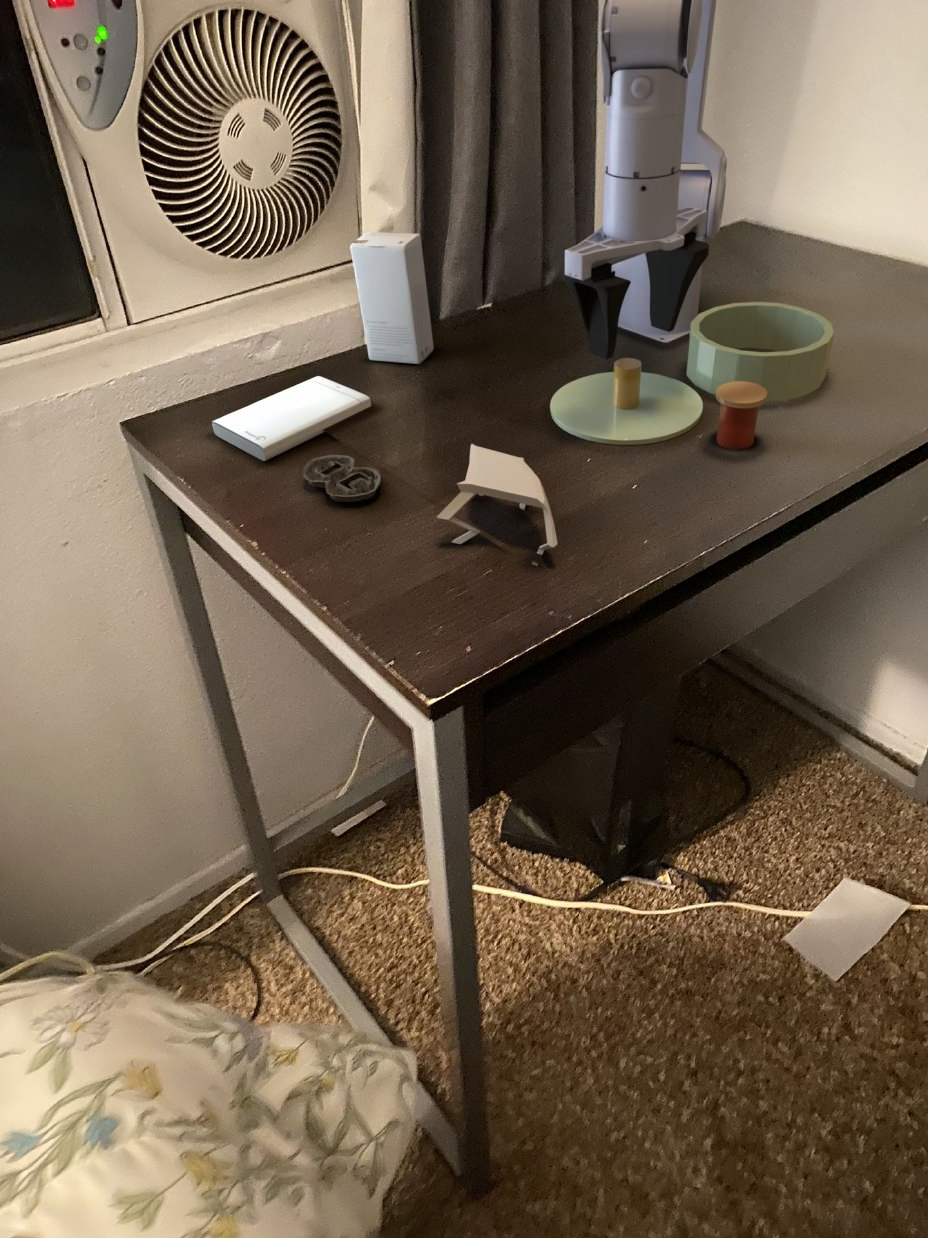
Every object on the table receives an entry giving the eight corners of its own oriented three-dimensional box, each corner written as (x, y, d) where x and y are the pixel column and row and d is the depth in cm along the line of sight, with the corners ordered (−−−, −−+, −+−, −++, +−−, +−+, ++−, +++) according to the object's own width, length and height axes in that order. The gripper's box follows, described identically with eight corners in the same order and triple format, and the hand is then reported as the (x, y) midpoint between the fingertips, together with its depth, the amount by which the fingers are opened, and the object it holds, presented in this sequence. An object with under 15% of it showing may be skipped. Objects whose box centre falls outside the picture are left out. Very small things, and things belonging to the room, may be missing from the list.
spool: (699, 446, 77) (706, 392, 74) (729, 430, 79) (737, 376, 76) (738, 463, 74) (746, 407, 71) (768, 446, 76) (777, 391, 73)
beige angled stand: (412, 530, 70) (405, 475, 67) (486, 486, 74) (483, 432, 71) (529, 592, 63) (528, 533, 60) (603, 539, 67) (606, 481, 64)
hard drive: (262, 447, 78) (370, 395, 85) (210, 419, 83) (316, 372, 90) (266, 463, 80) (372, 411, 86) (214, 435, 84) (319, 388, 91)
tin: (658, 378, 87) (661, 329, 84) (741, 339, 93) (748, 291, 90) (767, 421, 80) (775, 368, 76) (851, 375, 85) (862, 324, 82)
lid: (519, 415, 83) (518, 365, 80) (621, 369, 90) (624, 320, 86) (629, 468, 75) (632, 414, 72) (733, 413, 81) (740, 361, 78)
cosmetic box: (435, 349, 96) (424, 231, 88) (419, 367, 93) (407, 245, 85) (382, 345, 98) (367, 228, 90) (365, 362, 95) (348, 242, 87)
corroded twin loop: (336, 457, 79) (335, 447, 78) (396, 488, 74) (395, 477, 74) (290, 480, 77) (288, 470, 76) (349, 514, 72) (347, 503, 71)
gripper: (614, 199, 63) (607, 381, 72) (745, 156, 70) (724, 328, 78) (545, 183, 68) (546, 356, 76) (674, 144, 74) (662, 308, 83)
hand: (632, 341), depth 78 cm, fingers open, 7 cm apart
